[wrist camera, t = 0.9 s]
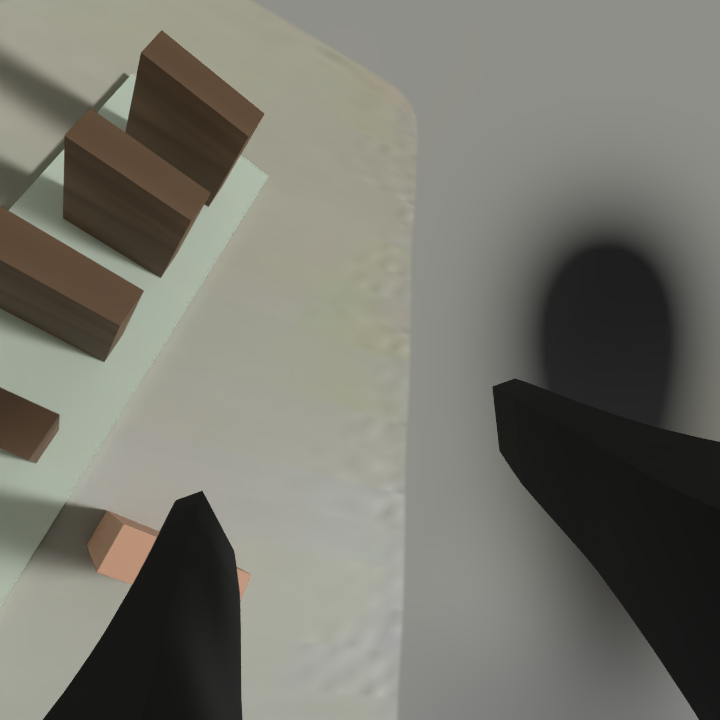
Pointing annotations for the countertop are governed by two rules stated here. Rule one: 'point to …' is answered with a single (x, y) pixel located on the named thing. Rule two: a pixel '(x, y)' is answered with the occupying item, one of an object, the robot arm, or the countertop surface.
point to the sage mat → (83, 371)
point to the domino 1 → (25, 426)
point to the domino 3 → (127, 194)
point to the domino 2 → (189, 114)
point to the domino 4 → (62, 289)
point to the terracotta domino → (129, 549)
